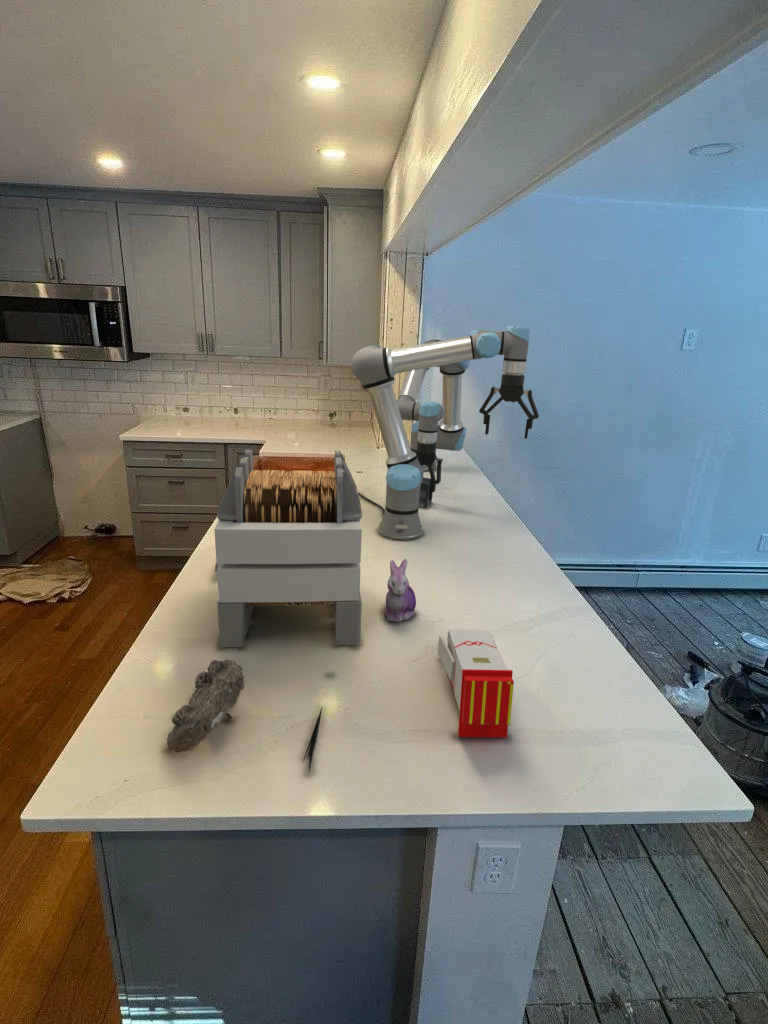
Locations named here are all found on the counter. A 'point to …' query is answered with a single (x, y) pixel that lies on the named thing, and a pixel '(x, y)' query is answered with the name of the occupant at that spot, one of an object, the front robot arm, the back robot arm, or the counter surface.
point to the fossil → (206, 705)
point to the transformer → (288, 546)
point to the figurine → (399, 594)
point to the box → (425, 493)
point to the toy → (478, 682)
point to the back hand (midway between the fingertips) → (423, 498)
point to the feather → (313, 740)
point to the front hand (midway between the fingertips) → (506, 435)
